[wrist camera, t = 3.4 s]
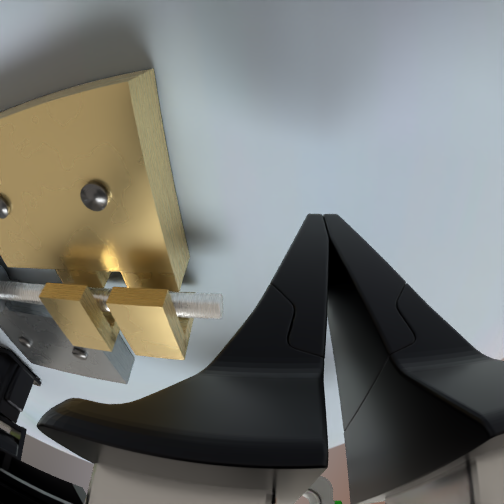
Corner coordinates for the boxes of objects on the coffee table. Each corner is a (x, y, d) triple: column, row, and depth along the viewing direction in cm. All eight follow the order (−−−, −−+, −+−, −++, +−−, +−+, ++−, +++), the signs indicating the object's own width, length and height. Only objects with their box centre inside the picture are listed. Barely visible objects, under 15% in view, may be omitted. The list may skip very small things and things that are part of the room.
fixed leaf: (30, 340, 21) (14, 375, 19) (-36, 246, 15) (-64, 283, 12) (242, 368, 20) (237, 418, 17) (223, 244, 13) (209, 312, 11)
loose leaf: (52, 286, 16) (25, 335, 13) (-21, 121, 9) (-76, 161, 7) (199, 294, 15) (184, 359, 13) (153, 68, 9) (99, 97, 6)
